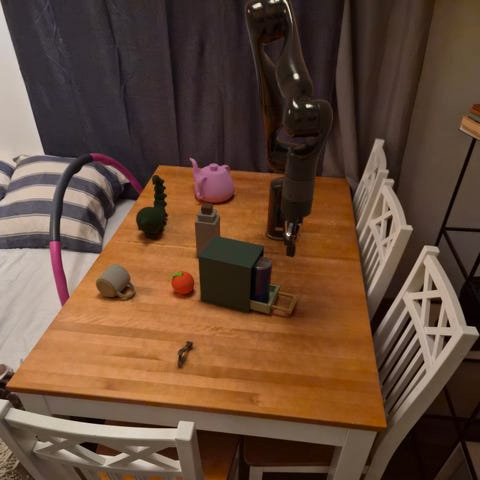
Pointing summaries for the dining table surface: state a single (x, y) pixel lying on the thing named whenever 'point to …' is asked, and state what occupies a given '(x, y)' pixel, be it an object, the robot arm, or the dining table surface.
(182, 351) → the dark brown angled piece
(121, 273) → the ceramic mug
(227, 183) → the teapot
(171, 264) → the dining table surface
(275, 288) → the drawer
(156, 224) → the toy figurine
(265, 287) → the navy can
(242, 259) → the cubby
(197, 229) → the perfume bottle
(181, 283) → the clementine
